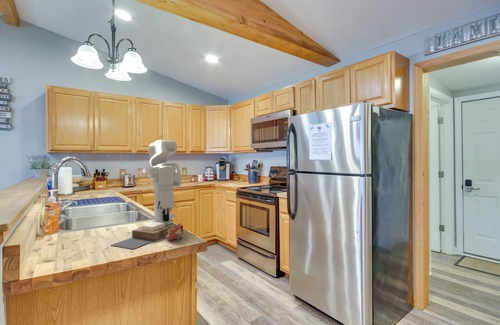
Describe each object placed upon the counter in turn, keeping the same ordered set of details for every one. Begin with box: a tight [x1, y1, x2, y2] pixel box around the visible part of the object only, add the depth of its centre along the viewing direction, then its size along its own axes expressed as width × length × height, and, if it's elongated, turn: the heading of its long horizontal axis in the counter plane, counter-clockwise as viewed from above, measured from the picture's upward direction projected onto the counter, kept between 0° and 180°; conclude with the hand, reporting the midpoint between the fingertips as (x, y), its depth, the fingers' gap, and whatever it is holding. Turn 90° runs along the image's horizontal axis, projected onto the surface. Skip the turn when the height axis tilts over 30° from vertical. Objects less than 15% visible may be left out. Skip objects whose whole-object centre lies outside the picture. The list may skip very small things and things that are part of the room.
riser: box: [131, 225, 172, 243], centre depth 134 cm, size 13×14×4 cm
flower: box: [164, 222, 185, 241], centre depth 128 cm, size 10×9×8 cm
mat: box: [110, 237, 153, 251], centre depth 122 cm, size 12×14×1 cm
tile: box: [141, 221, 166, 231], centre depth 135 cm, size 9×7×2 cm
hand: (166, 221), depth 143 cm, fingers closed
